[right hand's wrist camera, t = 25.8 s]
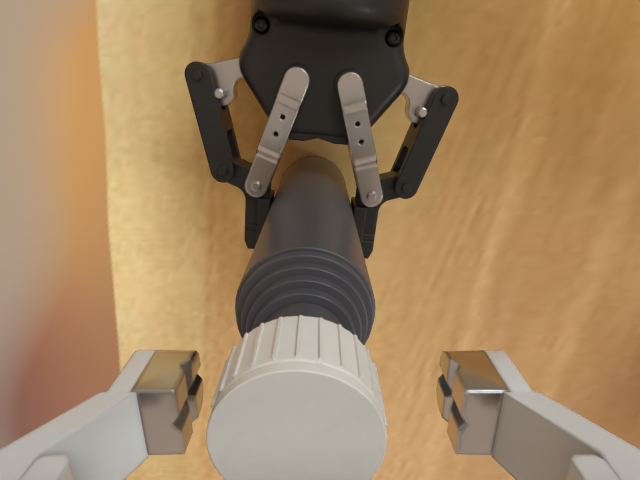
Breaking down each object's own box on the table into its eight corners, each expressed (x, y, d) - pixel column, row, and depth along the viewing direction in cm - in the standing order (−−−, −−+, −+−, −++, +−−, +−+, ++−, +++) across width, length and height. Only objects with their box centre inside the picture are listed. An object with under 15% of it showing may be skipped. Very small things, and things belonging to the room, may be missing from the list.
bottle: (334, 147, 29) (369, 304, 8) (353, 208, 30) (422, 467, 10) (271, 168, 29) (159, 364, 9) (293, 227, 31) (241, 511, 10)
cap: (408, 372, 10) (428, 437, 9) (309, 458, 12) (307, 535, 10) (290, 282, 10) (283, 333, 8) (194, 385, 11) (167, 452, 9)
